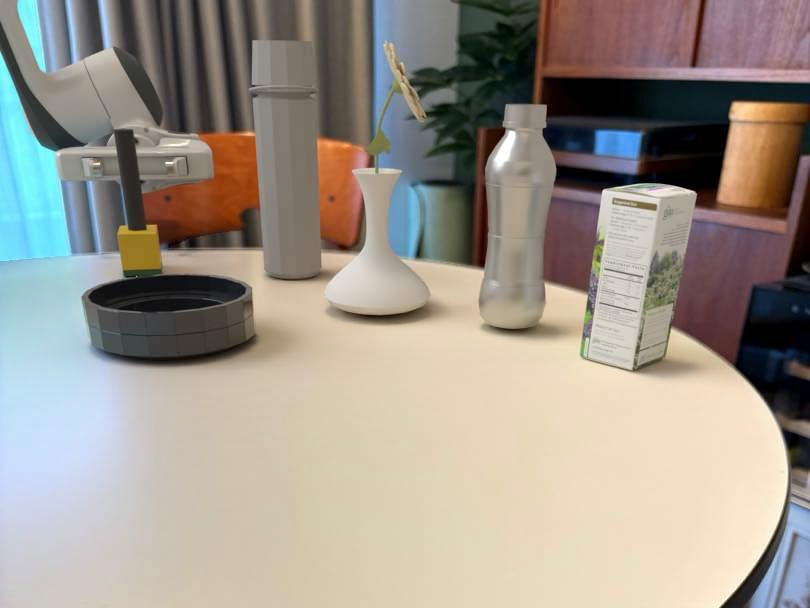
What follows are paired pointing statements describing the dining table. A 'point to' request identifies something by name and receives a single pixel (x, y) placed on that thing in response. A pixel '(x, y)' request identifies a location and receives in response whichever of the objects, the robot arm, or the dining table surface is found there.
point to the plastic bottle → (517, 220)
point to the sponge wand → (135, 215)
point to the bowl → (169, 315)
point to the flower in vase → (380, 231)
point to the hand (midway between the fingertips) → (134, 169)
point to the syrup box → (636, 273)
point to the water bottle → (287, 156)
